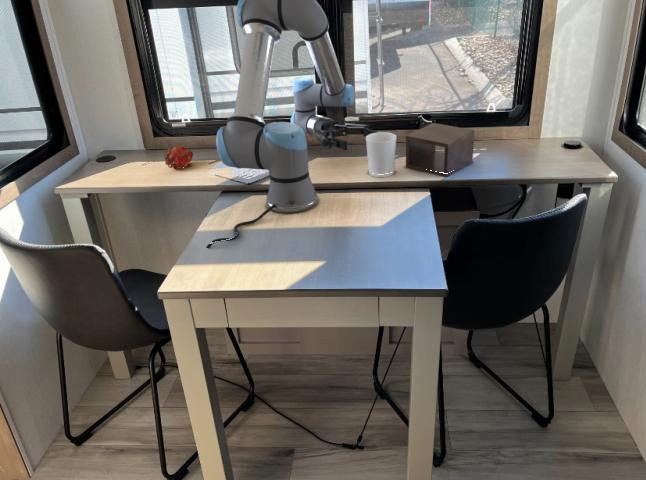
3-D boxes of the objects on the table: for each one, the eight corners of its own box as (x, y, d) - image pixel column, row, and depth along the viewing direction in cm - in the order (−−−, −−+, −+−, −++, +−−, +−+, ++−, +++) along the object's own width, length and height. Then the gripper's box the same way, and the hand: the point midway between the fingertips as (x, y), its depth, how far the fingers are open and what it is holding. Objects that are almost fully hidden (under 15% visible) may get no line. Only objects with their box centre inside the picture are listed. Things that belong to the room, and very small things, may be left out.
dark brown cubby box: (446, 177, 189) (448, 144, 183) (405, 167, 198) (405, 135, 192) (472, 162, 199) (474, 130, 193) (432, 153, 208) (433, 122, 202)
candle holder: (396, 166, 199) (396, 131, 192) (396, 178, 191) (396, 141, 184) (367, 167, 200) (366, 132, 193) (366, 178, 192) (364, 142, 185)
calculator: (249, 185, 193) (248, 180, 192) (208, 174, 204) (207, 169, 203) (277, 172, 201) (276, 167, 200) (236, 162, 212) (235, 157, 211)
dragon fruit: (165, 177, 208) (192, 171, 217) (175, 166, 202) (204, 160, 211) (154, 154, 208) (183, 149, 216) (165, 143, 202) (193, 139, 210)
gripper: (349, 129, 220) (389, 142, 205) (295, 147, 207) (333, 161, 193) (348, 109, 216) (388, 120, 201) (293, 125, 203) (331, 139, 189)
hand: (361, 140), depth 197 cm, fingers open, 13 cm apart
